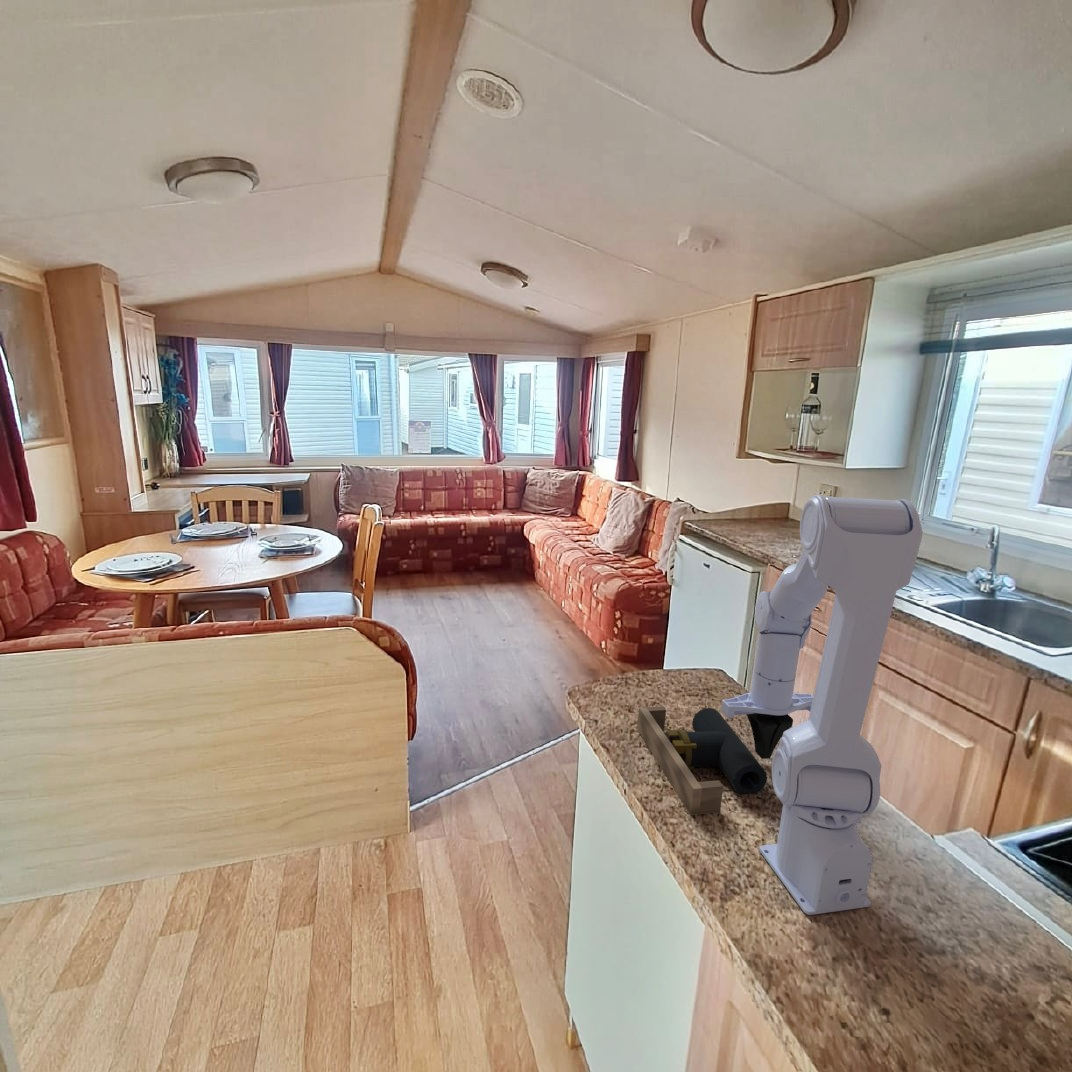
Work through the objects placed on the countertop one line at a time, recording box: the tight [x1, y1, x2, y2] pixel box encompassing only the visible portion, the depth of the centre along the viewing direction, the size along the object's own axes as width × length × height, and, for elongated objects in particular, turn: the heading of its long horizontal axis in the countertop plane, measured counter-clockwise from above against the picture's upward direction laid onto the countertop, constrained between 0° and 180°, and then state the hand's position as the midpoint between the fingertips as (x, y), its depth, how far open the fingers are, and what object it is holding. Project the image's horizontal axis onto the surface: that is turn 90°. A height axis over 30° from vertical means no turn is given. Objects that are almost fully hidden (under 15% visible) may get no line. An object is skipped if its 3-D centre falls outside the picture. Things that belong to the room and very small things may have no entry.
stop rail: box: [636, 705, 724, 816], centre depth 85 cm, size 20×4×4 cm, turn 10°
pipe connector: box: [665, 707, 768, 796], centre depth 87 cm, size 12×5×15 cm
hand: (762, 754), depth 87 cm, fingers closed
